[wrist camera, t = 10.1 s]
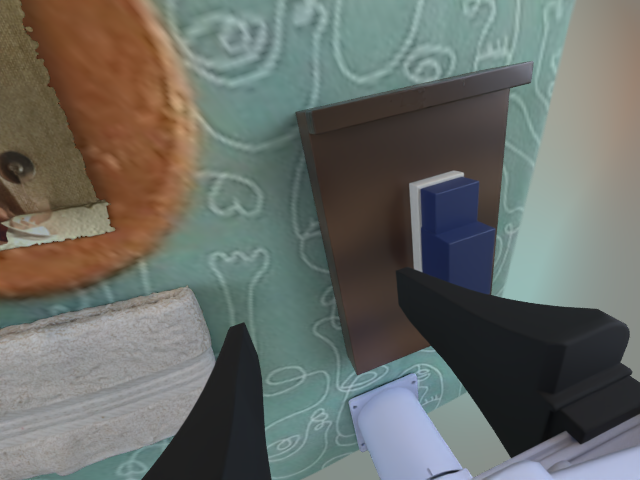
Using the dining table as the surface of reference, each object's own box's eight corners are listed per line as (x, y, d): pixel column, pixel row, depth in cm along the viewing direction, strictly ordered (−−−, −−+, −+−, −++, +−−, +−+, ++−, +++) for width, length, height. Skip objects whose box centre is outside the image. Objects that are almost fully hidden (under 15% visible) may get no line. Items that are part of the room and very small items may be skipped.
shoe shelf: (470, 307, 30) (501, 332, 27) (347, 355, 28) (364, 389, 24) (482, 69, 20) (534, 60, 17) (295, 112, 18) (310, 111, 15)
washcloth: (-127, 348, 17) (-197, 393, 14) (195, 274, 20) (190, 298, 18) (-6, 463, 22) (-40, 514, 19) (235, 387, 25) (235, 420, 23)
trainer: (452, 269, 24) (491, 296, 20) (414, 283, 23) (447, 313, 20) (454, 170, 20) (501, 181, 17) (408, 183, 19) (447, 197, 16)
